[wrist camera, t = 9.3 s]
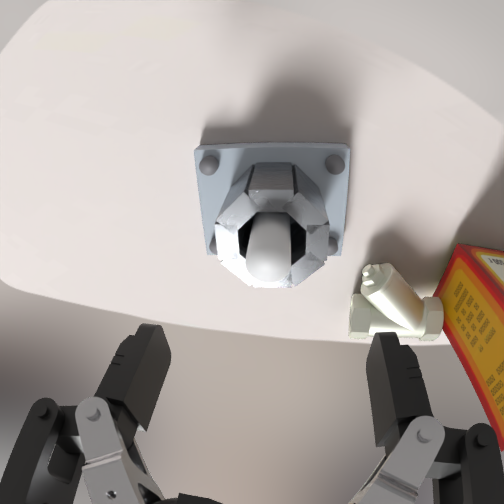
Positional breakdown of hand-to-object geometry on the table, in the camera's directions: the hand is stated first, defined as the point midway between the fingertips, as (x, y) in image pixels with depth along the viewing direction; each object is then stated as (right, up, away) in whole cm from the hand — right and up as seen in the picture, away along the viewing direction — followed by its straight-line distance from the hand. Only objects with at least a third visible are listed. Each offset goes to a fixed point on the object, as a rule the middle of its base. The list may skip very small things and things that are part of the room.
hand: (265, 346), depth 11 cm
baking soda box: (+21, +1, +12) cm, 24 cm away
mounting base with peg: (+1, +7, +11) cm, 13 cm away
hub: (+1, +7, +10) cm, 12 cm away
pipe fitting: (+12, 0, +14) cm, 18 cm away
